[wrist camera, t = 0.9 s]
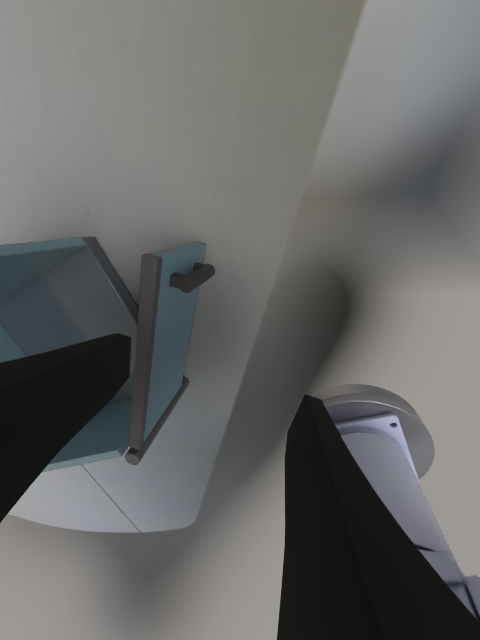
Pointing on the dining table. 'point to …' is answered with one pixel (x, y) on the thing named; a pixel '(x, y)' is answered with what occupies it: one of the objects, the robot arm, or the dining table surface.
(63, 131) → the dining table surface
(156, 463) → the dining table surface
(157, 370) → the blue flat panel
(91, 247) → the light blue open box
